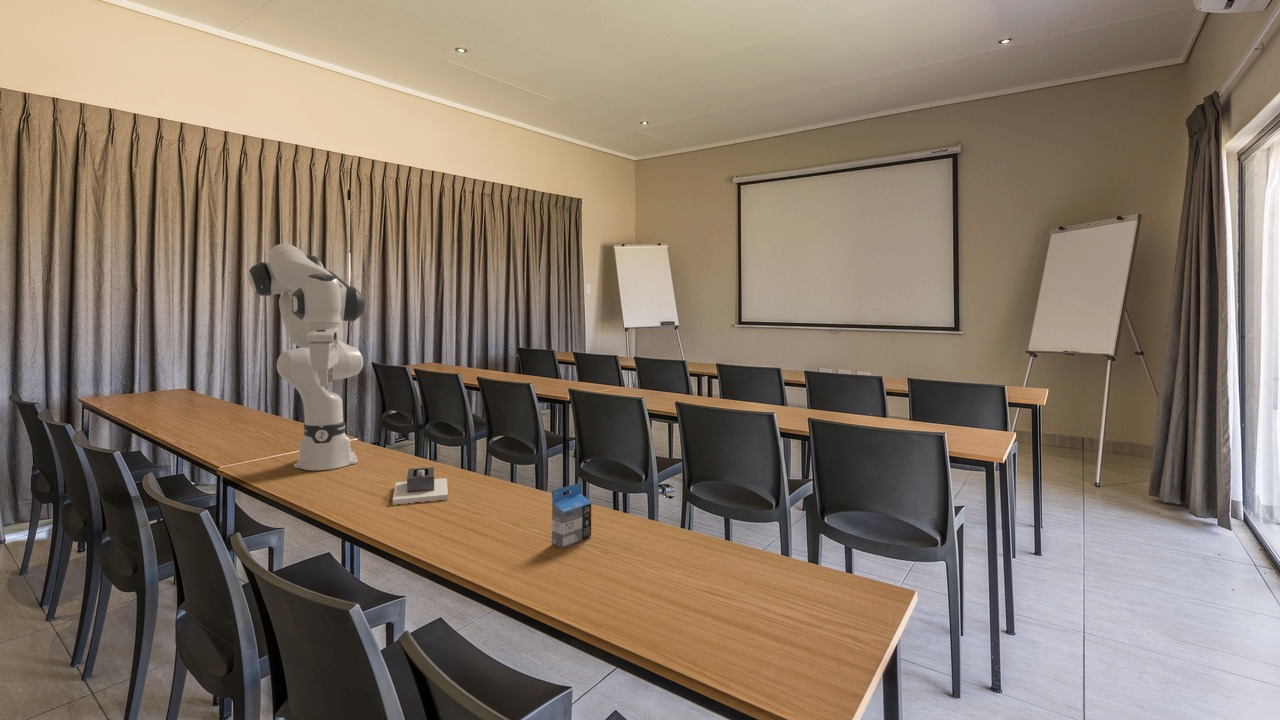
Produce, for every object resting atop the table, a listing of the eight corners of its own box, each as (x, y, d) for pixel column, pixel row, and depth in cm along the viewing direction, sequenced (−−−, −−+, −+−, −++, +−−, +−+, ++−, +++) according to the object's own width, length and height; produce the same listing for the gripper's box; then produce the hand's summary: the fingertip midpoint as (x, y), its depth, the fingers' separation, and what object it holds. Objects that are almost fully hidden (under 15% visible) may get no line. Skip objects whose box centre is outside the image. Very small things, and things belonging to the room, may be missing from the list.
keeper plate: (396, 487, 175) (395, 465, 175) (446, 483, 180) (446, 461, 179) (392, 505, 160) (392, 481, 160) (448, 499, 165) (447, 476, 164)
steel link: (408, 482, 175) (408, 468, 175) (434, 480, 177) (433, 466, 177) (407, 492, 166) (406, 478, 165) (434, 490, 168) (433, 476, 168)
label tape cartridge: (562, 549, 133) (562, 494, 132) (551, 544, 135) (550, 491, 134) (592, 537, 139) (591, 485, 138) (580, 533, 142) (580, 482, 141)
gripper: (318, 331, 174) (320, 379, 176) (304, 336, 155) (307, 389, 156) (342, 331, 176) (344, 378, 178) (332, 335, 157) (334, 388, 158)
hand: (327, 383), depth 167 cm, fingers open, 8 cm apart
